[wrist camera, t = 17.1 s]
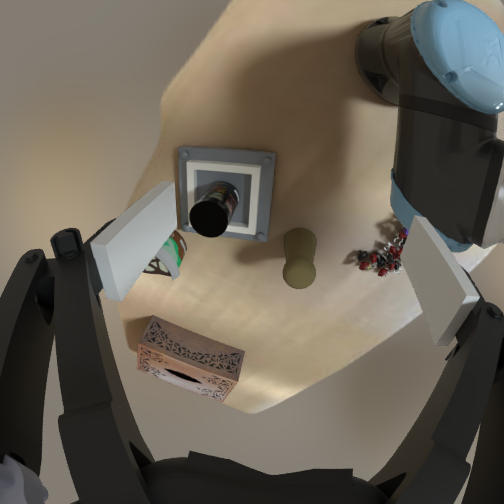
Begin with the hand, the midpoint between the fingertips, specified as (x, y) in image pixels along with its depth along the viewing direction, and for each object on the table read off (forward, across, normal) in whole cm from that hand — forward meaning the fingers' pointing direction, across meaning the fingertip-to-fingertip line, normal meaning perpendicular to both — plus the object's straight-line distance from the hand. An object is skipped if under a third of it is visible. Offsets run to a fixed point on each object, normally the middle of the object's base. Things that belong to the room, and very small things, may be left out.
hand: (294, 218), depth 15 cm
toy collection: (+32, +23, -18) cm, 43 cm away
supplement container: (+30, -11, -12) cm, 34 cm away
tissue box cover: (+32, -20, -58) cm, 69 cm away
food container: (+32, -24, -22) cm, 45 cm away
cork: (+32, +3, -20) cm, 38 cm away
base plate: (+32, -11, -12) cm, 36 cm away
